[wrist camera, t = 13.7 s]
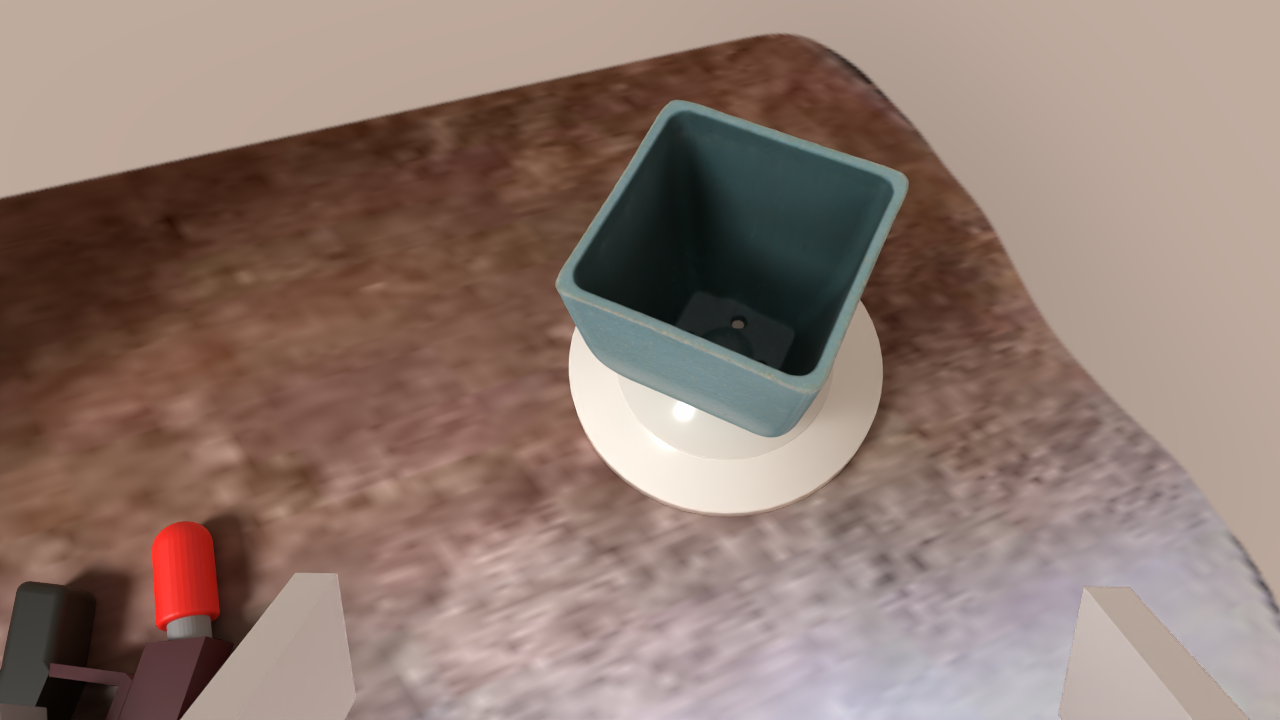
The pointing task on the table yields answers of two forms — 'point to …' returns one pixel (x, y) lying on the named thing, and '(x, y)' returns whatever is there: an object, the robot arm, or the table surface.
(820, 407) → the saucer
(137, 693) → the toy gun
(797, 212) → the flower pot
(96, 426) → the table surface
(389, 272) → the table surface
